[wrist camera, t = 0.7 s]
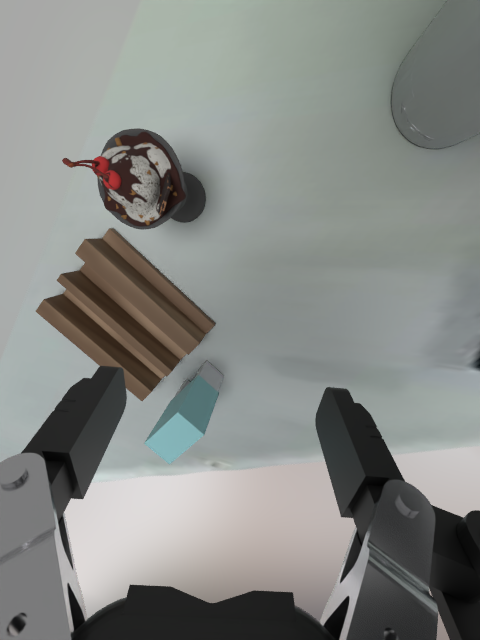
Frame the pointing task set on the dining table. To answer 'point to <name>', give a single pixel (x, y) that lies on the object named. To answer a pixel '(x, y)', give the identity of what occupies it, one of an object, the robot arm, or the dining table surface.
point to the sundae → (144, 181)
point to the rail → (125, 313)
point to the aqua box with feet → (186, 415)
